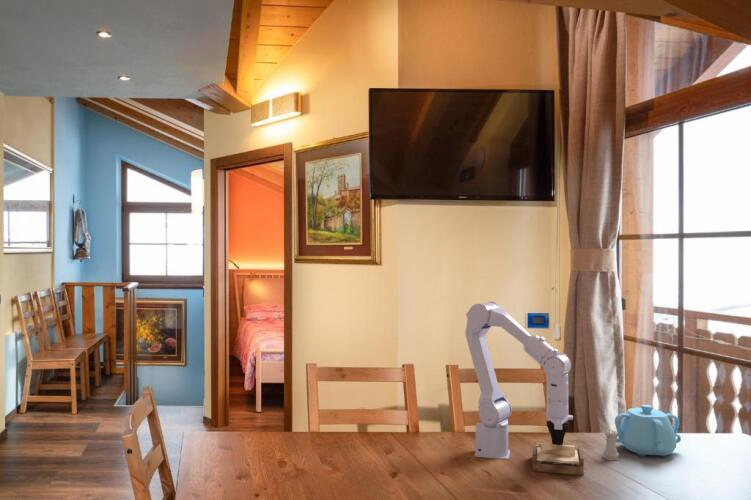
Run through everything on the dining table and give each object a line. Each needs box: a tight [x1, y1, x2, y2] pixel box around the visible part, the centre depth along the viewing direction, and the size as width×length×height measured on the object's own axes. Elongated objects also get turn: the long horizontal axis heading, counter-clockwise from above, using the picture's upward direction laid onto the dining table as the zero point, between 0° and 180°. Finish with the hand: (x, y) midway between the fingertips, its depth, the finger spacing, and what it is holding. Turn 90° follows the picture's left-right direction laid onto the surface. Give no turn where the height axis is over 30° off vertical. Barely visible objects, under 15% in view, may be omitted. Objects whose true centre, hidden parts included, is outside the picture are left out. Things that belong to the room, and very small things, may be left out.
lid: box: [537, 442, 579, 464], centre depth 167 cm, size 11×10×3 cm
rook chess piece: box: [602, 429, 620, 461], centre depth 176 cm, size 4×4×8 cm
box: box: [532, 441, 585, 476], centre depth 169 cm, size 13×11×5 cm
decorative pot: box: [614, 404, 682, 458], centre depth 183 cm, size 16×16×14 cm
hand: (557, 449), depth 169 cm, fingers closed
